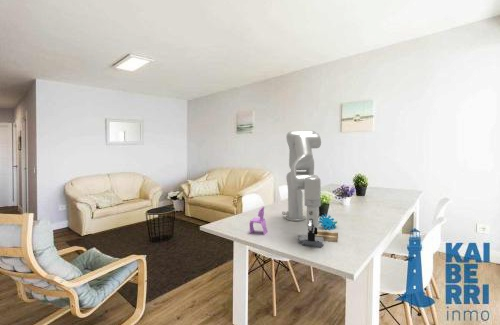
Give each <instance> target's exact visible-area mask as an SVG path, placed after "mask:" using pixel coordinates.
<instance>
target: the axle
mask: <svg viewBox="0 0 500 325" xmlns="http://www.w3.org/2000/svg"><path fill="white" fill-rule="evenodd" d="M302 240H306V241H308V235H305V234H297V242H300V243H302ZM314 242H322V244H323V245H324V238H323V237H315V241H314Z"/></svg>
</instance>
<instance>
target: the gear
mask: <svg viewBox="0 0 500 325" xmlns="http://www.w3.org/2000/svg"><path fill="white" fill-rule="evenodd" d="M327 216H328V217H327ZM334 220H335V218H333V217H332V216H331V215H327V214H324V215H323V214H321V216H319V224H320V227H323V229H324V230H328V231H331V230H334V229H335V228H336V227H337V225H336V224H338V221H336V220H335V221H334Z"/></svg>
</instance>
